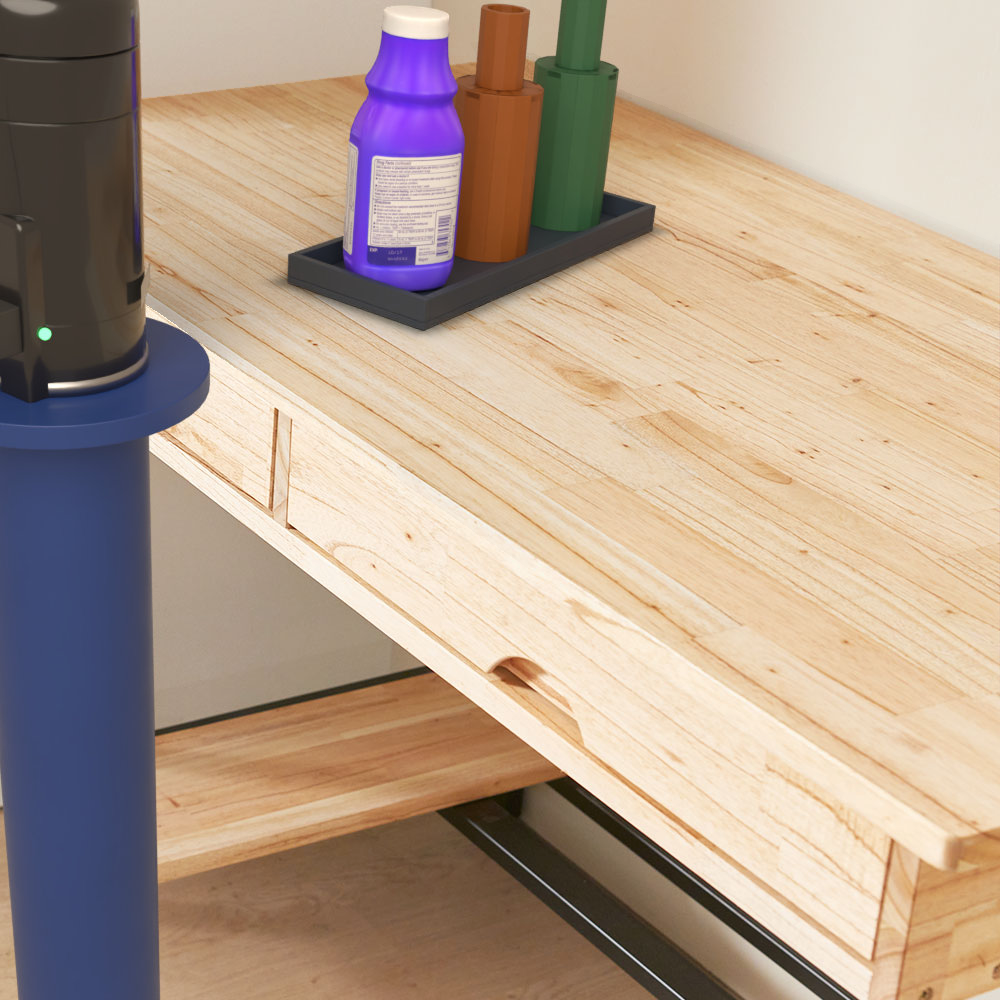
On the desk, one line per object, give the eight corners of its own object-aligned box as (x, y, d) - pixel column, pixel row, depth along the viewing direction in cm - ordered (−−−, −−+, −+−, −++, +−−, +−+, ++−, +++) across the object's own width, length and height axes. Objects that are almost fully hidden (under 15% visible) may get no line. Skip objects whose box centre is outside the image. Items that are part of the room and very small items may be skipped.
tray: (423, 331, 96) (425, 300, 95) (286, 282, 101) (287, 253, 100) (652, 230, 118) (656, 205, 117) (531, 195, 123) (533, 170, 122)
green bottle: (571, 243, 113) (599, 5, 105) (504, 223, 116) (526, -10, 108) (613, 226, 118) (642, -3, 110) (547, 207, 120) (571, -18, 112)
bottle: (431, 263, 105) (450, 1, 97) (465, 293, 101) (488, 20, 93) (331, 271, 102) (341, 0, 94) (361, 301, 98) (375, 20, 90)
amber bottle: (494, 275, 106) (518, 22, 98) (424, 253, 108) (442, 5, 100) (542, 256, 110) (568, 12, 102) (473, 235, 113) (494, -5, 105)
